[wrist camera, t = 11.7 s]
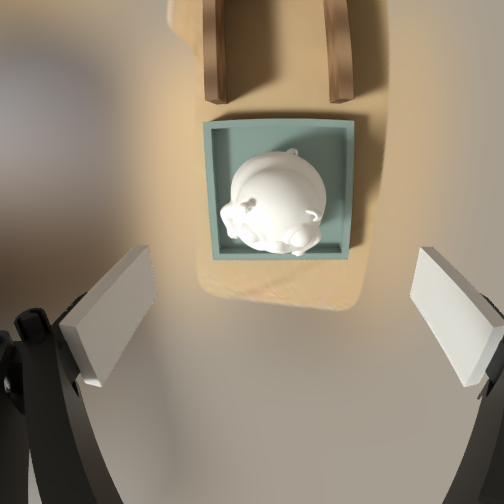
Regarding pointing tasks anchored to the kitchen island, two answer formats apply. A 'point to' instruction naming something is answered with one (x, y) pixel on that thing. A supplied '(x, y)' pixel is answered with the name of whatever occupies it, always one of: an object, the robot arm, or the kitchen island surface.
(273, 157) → the figurine
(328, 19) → the wooden open box
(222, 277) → the kitchen island surface
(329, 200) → the tray
